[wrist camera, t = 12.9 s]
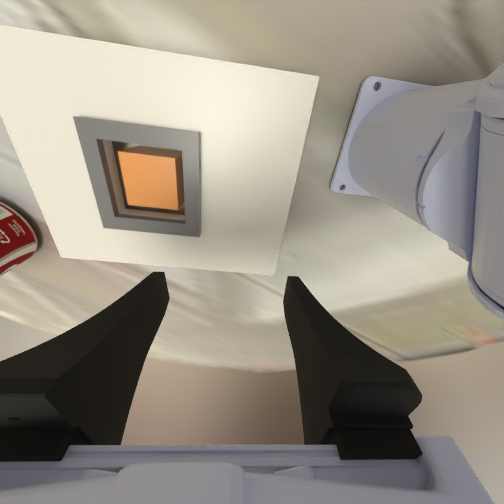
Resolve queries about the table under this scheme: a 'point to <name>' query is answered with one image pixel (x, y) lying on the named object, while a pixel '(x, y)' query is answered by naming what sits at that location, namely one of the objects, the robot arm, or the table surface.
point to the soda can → (14, 239)
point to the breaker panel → (156, 136)
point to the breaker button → (153, 177)
